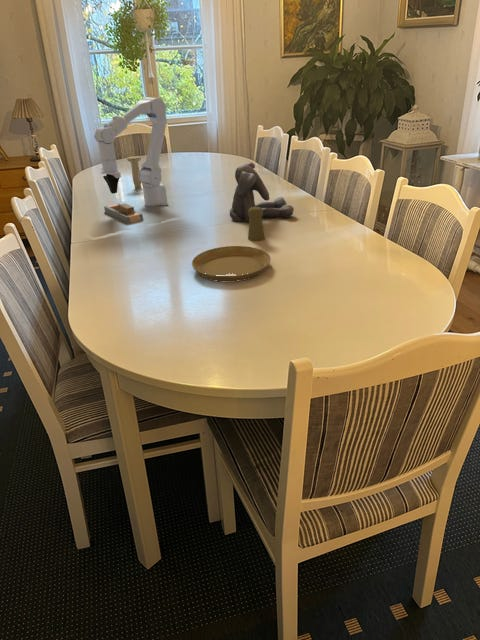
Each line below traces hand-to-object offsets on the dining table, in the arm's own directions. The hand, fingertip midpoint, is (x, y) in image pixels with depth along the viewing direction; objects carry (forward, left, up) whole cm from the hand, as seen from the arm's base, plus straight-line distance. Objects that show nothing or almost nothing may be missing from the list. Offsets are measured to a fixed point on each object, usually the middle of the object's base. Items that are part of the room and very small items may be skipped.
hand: (114, 193), depth 213 cm
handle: (-28, -37, -10) cm, 47 cm away
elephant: (-42, +44, -10) cm, 62 cm away
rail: (0, +6, -9) cm, 11 cm away
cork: (-24, +64, -10) cm, 69 cm away
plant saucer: (-1, +81, -10) cm, 82 cm away
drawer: (0, +10, -8) cm, 13 cm away
